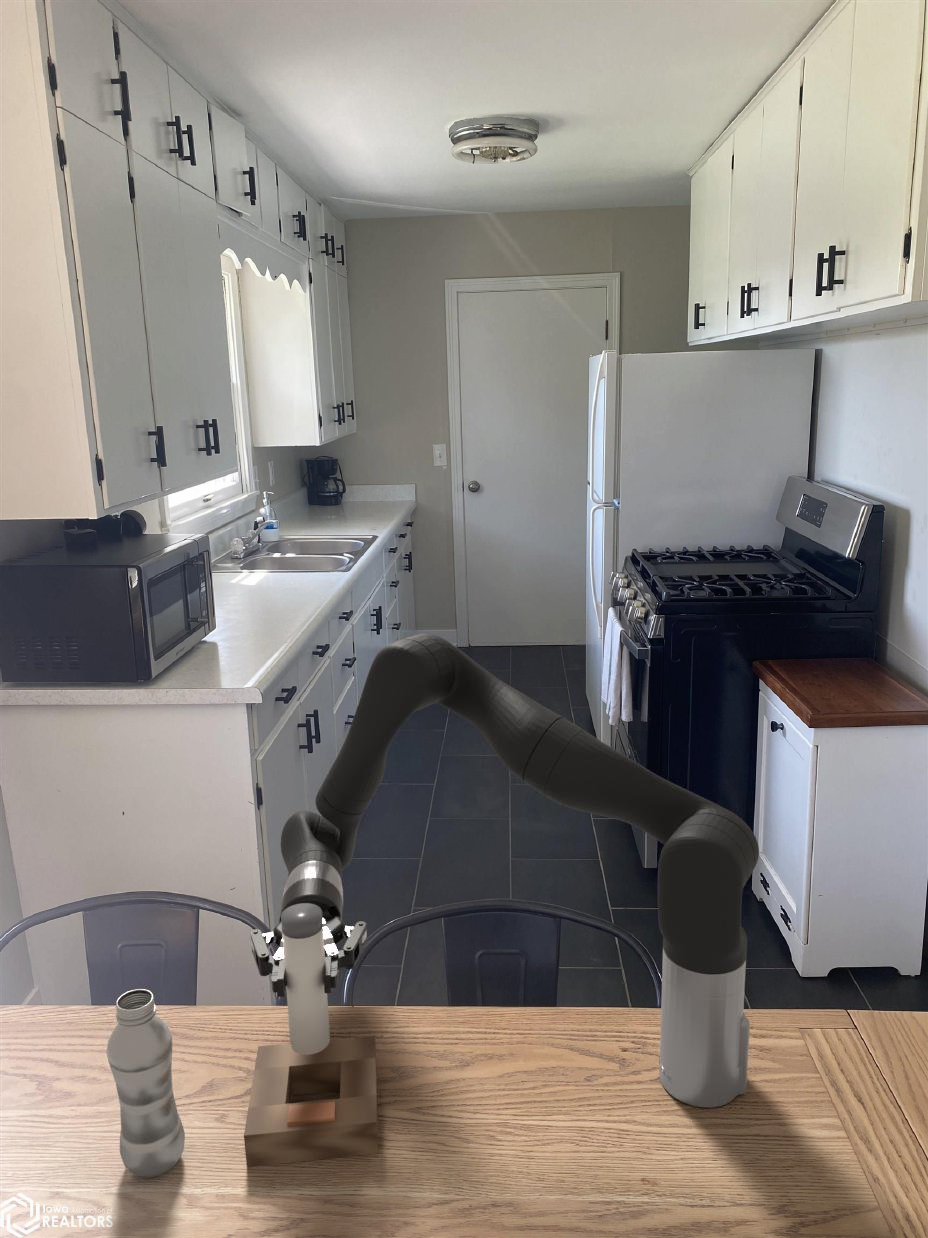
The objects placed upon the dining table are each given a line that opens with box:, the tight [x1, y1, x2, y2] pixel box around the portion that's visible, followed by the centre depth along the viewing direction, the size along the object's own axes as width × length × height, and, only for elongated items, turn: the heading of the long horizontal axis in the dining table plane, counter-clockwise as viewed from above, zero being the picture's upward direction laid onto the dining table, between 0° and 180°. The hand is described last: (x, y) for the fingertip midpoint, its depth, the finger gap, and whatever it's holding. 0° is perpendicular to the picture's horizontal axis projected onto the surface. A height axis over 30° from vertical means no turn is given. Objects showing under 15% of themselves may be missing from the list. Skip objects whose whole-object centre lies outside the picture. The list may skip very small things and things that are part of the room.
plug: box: [281, 903, 331, 1055], centre depth 102 cm, size 4×4×16 cm
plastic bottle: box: [105, 988, 186, 1178], centre depth 98 cm, size 6×7×20 cm
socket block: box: [243, 1035, 379, 1168], centre depth 106 cm, size 14×14×4 cm
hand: (304, 987), depth 100 cm, fingers closed on plug, 4 cm apart
